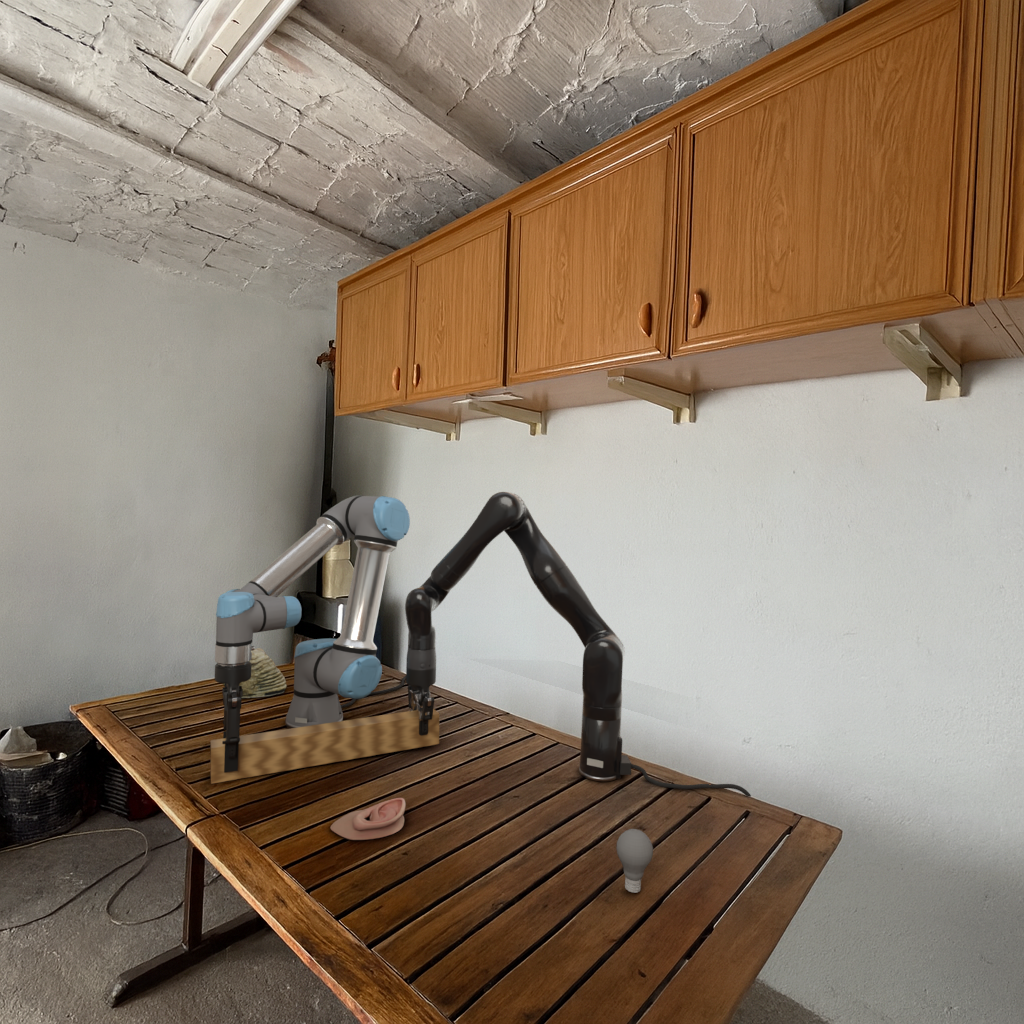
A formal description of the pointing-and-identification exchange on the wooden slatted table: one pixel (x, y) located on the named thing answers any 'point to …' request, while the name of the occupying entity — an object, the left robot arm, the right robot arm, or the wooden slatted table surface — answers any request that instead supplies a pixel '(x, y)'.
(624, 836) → the light bulb
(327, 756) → the post
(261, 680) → the fossil
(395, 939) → the wooden slatted table surface
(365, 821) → the anatomical model
